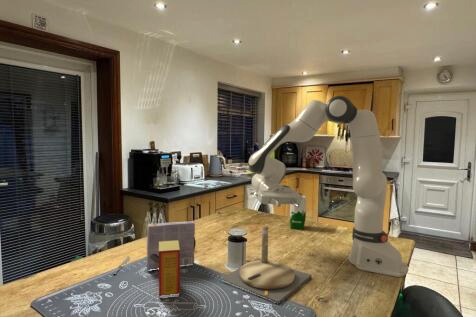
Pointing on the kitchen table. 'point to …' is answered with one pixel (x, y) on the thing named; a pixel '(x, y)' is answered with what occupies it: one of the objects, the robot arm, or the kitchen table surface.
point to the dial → (266, 270)
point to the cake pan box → (169, 233)
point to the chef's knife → (125, 261)
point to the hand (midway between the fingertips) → (289, 205)
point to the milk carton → (298, 215)
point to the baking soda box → (169, 267)
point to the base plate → (271, 294)
